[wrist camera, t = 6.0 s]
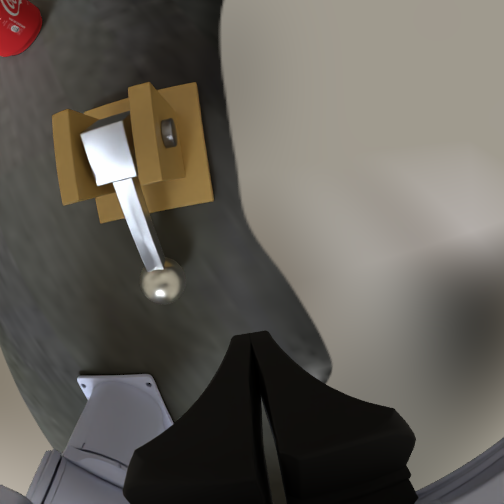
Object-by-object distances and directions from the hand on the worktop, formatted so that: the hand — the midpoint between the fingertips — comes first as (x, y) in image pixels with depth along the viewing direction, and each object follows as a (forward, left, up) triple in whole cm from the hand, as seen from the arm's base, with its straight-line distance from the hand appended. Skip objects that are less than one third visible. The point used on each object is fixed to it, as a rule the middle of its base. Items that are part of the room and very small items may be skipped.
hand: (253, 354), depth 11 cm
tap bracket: (+9, +5, -10) cm, 15 cm away
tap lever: (+5, +5, -8) cm, 11 cm away
